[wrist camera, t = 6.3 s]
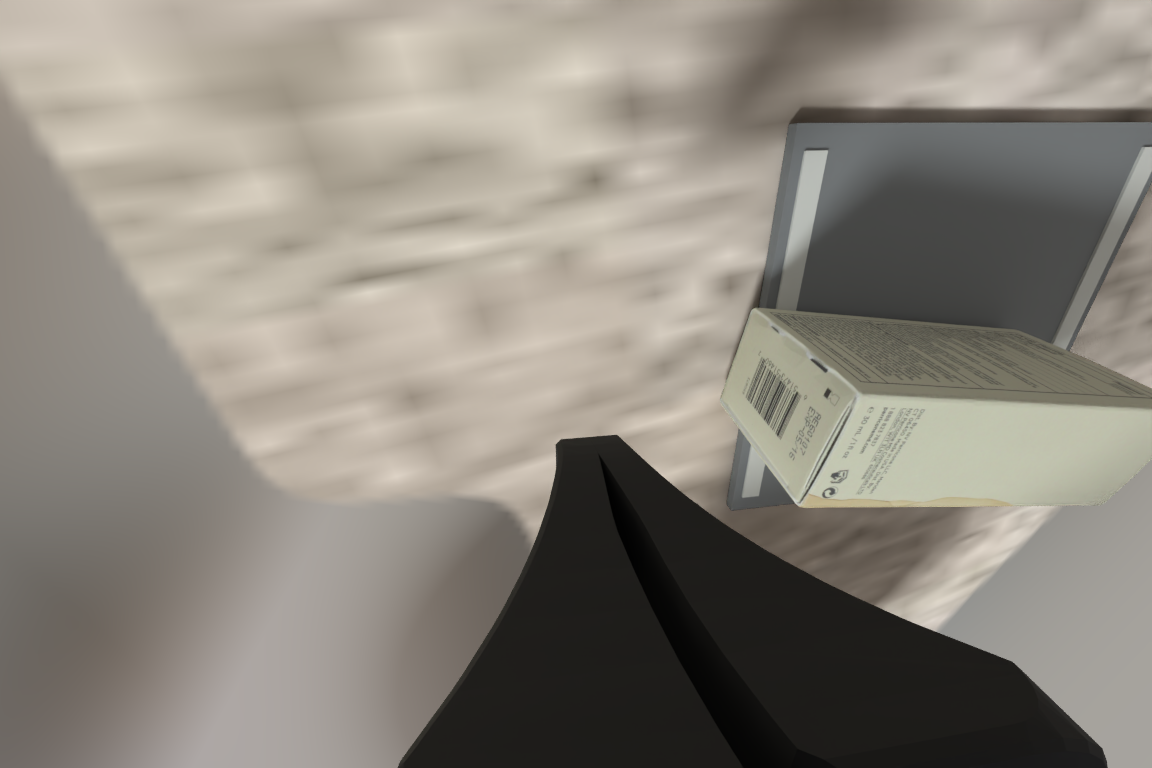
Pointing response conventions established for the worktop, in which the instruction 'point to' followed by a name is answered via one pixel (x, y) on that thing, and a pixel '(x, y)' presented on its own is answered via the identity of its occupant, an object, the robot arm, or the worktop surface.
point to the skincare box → (931, 414)
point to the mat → (947, 230)
